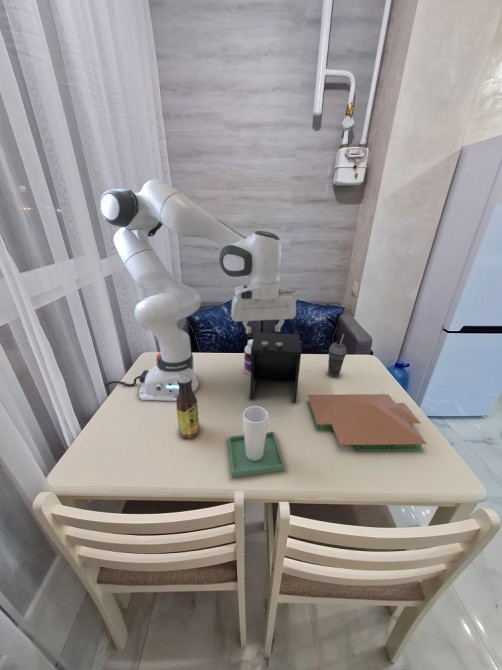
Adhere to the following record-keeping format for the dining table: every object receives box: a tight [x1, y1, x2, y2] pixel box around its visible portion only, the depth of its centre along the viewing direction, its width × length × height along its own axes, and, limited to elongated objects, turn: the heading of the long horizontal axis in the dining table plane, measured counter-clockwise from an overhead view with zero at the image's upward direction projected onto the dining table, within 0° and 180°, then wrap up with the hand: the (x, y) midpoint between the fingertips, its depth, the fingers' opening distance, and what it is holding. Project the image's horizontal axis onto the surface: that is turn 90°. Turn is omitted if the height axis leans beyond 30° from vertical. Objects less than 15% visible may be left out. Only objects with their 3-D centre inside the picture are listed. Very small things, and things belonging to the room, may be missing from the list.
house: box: [307, 393, 428, 451], centre depth 86 cm, size 23×33×8 cm
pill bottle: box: [243, 338, 254, 375], centre depth 113 cm, size 8×8×14 cm
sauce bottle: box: [175, 376, 200, 439], centre depth 80 cm, size 6×6×20 cm
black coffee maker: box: [249, 331, 302, 404], centre depth 99 cm, size 14×17×23 cm
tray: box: [227, 431, 285, 478], centre depth 76 cm, size 14×12×2 cm
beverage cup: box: [327, 333, 347, 379], centre depth 110 cm, size 7×7×20 cm
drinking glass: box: [242, 405, 269, 461], centre depth 73 cm, size 7×7×15 cm
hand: (263, 331), depth 84 cm, fingers open, 8 cm apart
